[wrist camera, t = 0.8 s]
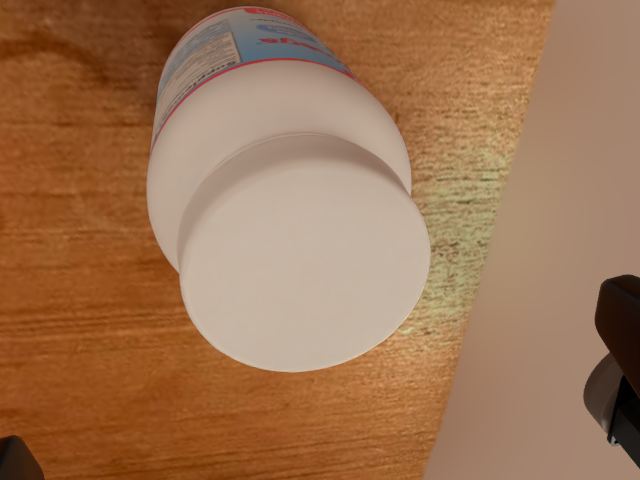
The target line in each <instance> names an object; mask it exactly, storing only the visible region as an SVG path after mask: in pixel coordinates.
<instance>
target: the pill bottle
mask: <svg viewBox="0 0 640 480" xmlns="http://www.w3.org/2000/svg"><path fill="white" fill-rule="evenodd" d="M147 206H148V213H149V219H150V222H151V225H152V229H153V232H154V234H155V237H156V240H157V242H158V244H159V246H160V248H161V250H162V251H163V253H164V255H165V256H166V258H167V259H168V261H169V262H170V264H171V265H172V266H173V267H174V268H175V269H176V271H177V272H179V278H180V288H181V294H182V298H183V301H184V304H185V307H186V309H187V312H188V315H189V317H190V319H191V321H192V322H193V324H194V325H195V326H196V328H197V329H198V331H199V332H200V334H201V335H202V336H203V337H204V338H205V339H206V340H207V341H208V342H209V343H210V344H211V345H212V346H213V347H215V348H216V349H217V350H219V351H221V352H222V353H224V354H226V355H227V356H229V357H231V358H233V359H235V360H237V361H239V362H242V363H244V364H246V365H250V366H253V367H257V368H260V369H265V370H271V371H279V372H302V371H311V370H318V369H323V368H327V367H331V366H334V365H337V364H341V363H344V362H346V361H349V360H351V359H354V358H356V357H358V356H360V355H362V354H364V353H366V352H367V351H369V350H371V349H372V348H374V347H375V346H377V345H378V344H380V343H381V342H383V341H384V340H385V339H387V338H388V337H389V336H390V335H391V334H392V333H393V332H394V331H396V330H397V329H398V327H399V326H400V325H401V324H402V323H403V322H404V321H405V319H406V318H407V317H408V316H409V314H410V313H411V311H412V310H413V309H414V307H415V306H416V304H417V302H418V300H419V298H420V296H421V294H422V292H423V290H424V287H425V284H426V281H427V278H428V274H429V269H430V260H431V249H430V239H429V233H428V230H427V227H426V223H425V220H424V218H423V216H422V214H421V212H420V210H419V208H418V207H417V205H416V203H415V202H414V201H413V199H412V198H411V168H410V161H409V157H408V153H407V149H406V146H405V143H404V141H403V138H402V136H401V134H400V132H399V130H398V128H397V126H396V124H395V122H394V121H393V119H392V118H391V116H390V115H389V113H388V112H387V111H386V109H385V108H384V107H383V106H382V104H381V103H380V102H379V101H378V100H377V99H376V97H375V96H374V95H373V94H372V93H371V92H370V91H369V90H368V89H367V88H366V87H365V86H364V85H363V84H362V83H361V82H360V80H359V79H358V78H357V77H356V76H355V75H354V74H353V73H352V72H351V71H350V70H349V69H348V68H347V67H346V66H345V65H344V64H343V63H342V62H341V61H340V60H339V59H338V58H337V56H335V54H334V53H333V52H332V51H331V50H330V49H329V48H328V47H327V46H326V45H325V44H324V43H323V42H322V41H321V40H320V39H319V38H318V37H317V36H316V35H315V34H314V33H313V32H311V31H310V30H309V29H308V28H307V27H305V26H304V25H303V24H301V23H300V22H299V21H297V20H296V19H294V18H292V17H290V16H288V15H286V14H284V13H282V12H279V11H275V10H272V9H269V8H263V7H255V6H242V7H234V8H229V9H225V10H222V11H219V12H217V13H214V14H212V15H210V16H208V17H206V18H204V19H203V20H202V21H200V22H199V23H197V24H196V25H194V26H193V27H192V28H191V29H190V30H189V31H188V32H187V33H186V34H185V35H184V36H183V37H182V38H181V39H180V41H179V42H178V43H177V45H176V46H175V48H174V49H173V50H172V52H171V54H170V55H169V57H168V59H167V61H166V63H165V66H164V68H163V71H162V74H161V77H160V82H159V87H158V95H157V103H156V112H155V119H154V126H153V134H152V142H151V150H150V157H149V166H148V173H147Z"/></svg>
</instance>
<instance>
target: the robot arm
mask: <svg viewBox="0 0 640 480" xmlns="http://www.w3.org/2000/svg"><path fill="white" fill-rule="evenodd" d="M595 326H596V329H597V331H598V333H599V335H600V337H601V338H602V340H603V342H604V343H605V345H606V346H607V348H608V349H609V351H610V353H611V354H612V356H613V357H614V359H615V361H616V362H617V364H618V365H619V367H620V369H621V370H622V372H623V373H624V375H623V376H622V378H621V381H620V385H619V389H618V393H617V398H616V402H615V406H614V410H613V414H612V418H611V422H610V427H609V431H608V435H607V441H608V442H609V443H610V444H611V445H612V446H618V445H621V446H622V447H623V449H624V450H625V451H626V452H627V454H628V455H629V456H630V457H631V459H632V460H633V461H634V462H635V463H636V465H637V466H638V467H639V468H640V278H639V277H636V276H633V275H622V276H618V277H614V278H610V279H607V280H605V281H604V282H603V283H602V284H601V287H600V292H599V297H598V302H597V308H596V313H595ZM0 480H45V479H44V474H43V471H42V469H41V467H40V465H39V464H38V462H37V461H36V459H35V458H34V456H33V455H32V453H31V452H30V450H29V449H28V447H27V446H26V444H25V443H24V441H23V440H22V439H21V438H20V437H18V436H16V435H14V436H13V435H12V436H8V437H4V438H0Z"/></svg>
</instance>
